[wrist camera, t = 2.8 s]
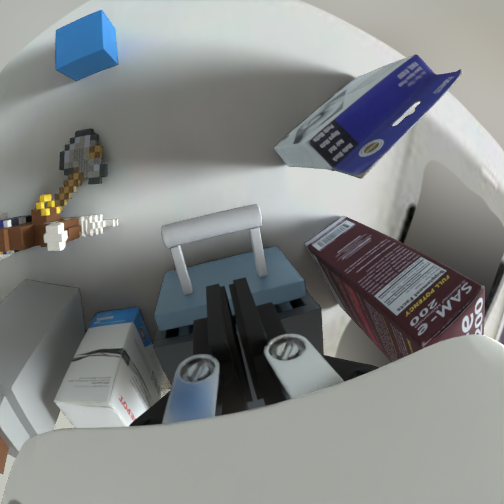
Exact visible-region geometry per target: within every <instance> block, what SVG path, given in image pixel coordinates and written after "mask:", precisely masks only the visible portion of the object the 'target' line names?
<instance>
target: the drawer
mask: <svg viewBox="0 0 504 504" xmlns="http://www.w3.org/2000/svg"><path fill="white" fill-rule="evenodd" d="M259 226H262V216H261V212H260V209H259V206H258V204H253V205H248V206H244V207H239V208H234V209H230V210H226V211H221V212H217V213H212V214H208V215H204V216H200V217H196V218H191V219H187V220H183V221H179V222H175V223H171V224H167V225H163V226H162V227H161V234H162V239H163V242H164V245H165V246H166V248H170V247H171V248H170V250H171V254H172V257H173V261H174V264H175V267H176V270H173V271H169V272H166V273H165V276H164V280H163V283H162V287H161V291H160V294H159V298H158V302H157V306H156V310H155V314H154V317H155V320H156V322H157V325H158V327H159V329H160V331H163V330H168V329H173V328H178V327H179V334H178V336H182V335H187V334H191V333H193V323H194V320H197V319H201V318H206V317H207V302H206V286H210V285H214V284H219V286H220V287H221V286H225V289H226V293H227V297H228V301H229V304H230V308H231V312H232V316H233V320H234V323H235V324H236V323H237V322H236V317H235V312H234V308H233V303H232V298H231V294H230V289H229V284H234V283H233V280H236V279H240V278H244V277H246V279H247V282H248V285H249V288H250V291H251V293H252V296H253V299H254V302H255V304H256V306H257V305H261V304H265V303H269V302H272V303H273V305H274V307H275V309H276V311H277V313H280V312H283V311H287V310H291V309H293V308H292V306H291V304H290V303H289V301H291V300H295V299H299V298H302V297H305V296H306V289H305V281H304V279H303V278H302V277H301V275H300V274H299V273H298V272H297V271H296V269H295V268H294V267H293V266H292V264H291V263H290V262H289V261H288V260H287V258H286V257H285V256H284V255H283V253H282V252H281V251H280V250H279V249H278V247H277V246H275V247H271V248H267V249H263V246H262V240H261V235H260V229H259ZM246 229H249V233H250V238H251V244H252V249H253V252H250V253H245V254H241V255H237V256H233V257H229V258H224V259H220V260H216V261H212V262H207V263H203V264H199V265H195V266H190V267H186V264H185V261H184V257H183V254H182V250H181V247H180V245H182V244H186V243H190V242H194V241H199V240H203V239H207V238H211V237H216V236H220V235H224V234H228V233H233V232H237V231H242V230H246Z"/></svg>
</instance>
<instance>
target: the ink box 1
mask: <svg viewBox="0 0 504 504" xmlns="http://www.w3.org/2000/svg"><path fill="white" fill-rule="evenodd" d="M162 380H163V370H162V367H161V365H160V362H159V360H158V358H157V356H156V354H155V352H154V350H153V345H152V343H151V340H150V337H149V335H148V332H147V329H146V326H145V324H144V321H143V318H142V315H141V312H140V309H139V308H137V307H134V308H127V309H120V310H113V311H106V312H100V313H97V314H96V315H95V317H94V319H93V320H92V322H91V324H90V326H89V328H88V330H87V332H86V334H85V336H84V338H83V340H82V341H81V343H80V345H79V347H78V349H77V351H76V353H75V355H74V357H73V359H72V362H71V364H70V366H69V368H68V370H67V372H66V374H65V377H64V379H63V381H62V383H61V386H60V388H59V390H58V392H57V395H56V397H55V399H54V402H55V403H56V405H57V406H58V407H59V409H60V410H61V411H62V412H63V414H64V415H65V416H66V418H67V419H68V420H69V421H70V423H71V424H72V425H73V426H74V428H95V427H122V426H123V427H127V426H129V425H130V424H131V423H132V422H133V421H134V420H135V419H137V418H138V417H139V416H140V415H142V414H143V413H144V412H145V411H146V410H148V409H149V408H150V407H151V406H153V405H154V404H155V403H156V402H157V401H159V400H160V397H161V388H162Z"/></svg>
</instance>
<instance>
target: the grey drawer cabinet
mask: <svg viewBox="0 0 504 504" xmlns="http://www.w3.org/2000/svg"><path fill="white" fill-rule="evenodd" d="M305 289H306V288H305ZM289 303H290V304H291V306H292V308H293V309H291V310H287V311H283V312H280V313H278V316H279V318H280V320H281V322H282V324H283V326H284V328H285V330H286V332H287V334H297V335H300V336H303V337H305V338H306V339H307V340H308V341H309V342H310V343H311V344H312V345H313V347H314V348H315V349H316V350H317V351H318V352H319V353H320V354H321V355H324V353H323V332H322V315H321V307H320V306H319V305H318V303H317V302H316V301H315V300H314V298H313V297H312V296H311V294H310V293H309V292H308V290H307V289H306V296H305V297H302V298H299V299H295V300H291V301H289ZM235 327H236V331H237V334H238V338H239V342H240V346H241V351H242V355H243V360H244V364H245V369H246V373H247V378H248V382H249V386H250V391H251V395H252V399H253V401H251V402H248V407H249V410H251V409H255V408H259V407H263V406H265V403H264V399H260V400H257V396H256V393H255V390H254V386H253V383H252V379H251V376H250V372H249V369H248V365H247V361H246V358H245V354H244V350H243V347H242V343H241V339H240V335H239V331H238V326H237V323H236V324H235ZM178 334H179V327H178V328H173V329H168V330H163V331H160V329H159V327H158V325H157V329H156V334H155V339H154V345H153V350H154V352H155V354H156V356H157V358H158V360H159V362H160V364H161V366H162V368H163V370H164V372H165V374H166V375H167V377H168V379H169V381H170V383H171V385H172V382H173V379H174V375H175V372H176V369H177V367H178V365H179V364H180V363H181V362H182V361H184V360H185V359H187V358H189V357H191V356H193V333H191V334H187V335H182V336H178Z"/></svg>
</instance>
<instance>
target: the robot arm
mask: <svg viewBox="0 0 504 504" xmlns="http://www.w3.org/2000/svg"><path fill="white" fill-rule="evenodd" d="M233 283H234V284H229V289H230V294H231V298H232V303H233V308H234V312H235V317H236V322H237V326H238V331H239V335H240V339H241V343H242V347H243V350H244V354H245V358H246V361H247V365H248V369H249V372H250V376H251V379H252V383H253V386H254V390H255V393H256V396H257V400H260V399H264V403H265V406H263V407H259V408H255V409H251V410H249V407H248V402H251V401H253V399H252V395H251V391H250V386H249V382H248V378H247V373H246V369H245V364H244V360H243V355H242V351H241V346H240V342H239V338H238V334H237V331H236V327H235V323H234V320H233V316H232V312H231V308H230V304H229V301H228V297H227V293H226V289H225V286H221V287H220V286H219V284H214V285H210V286H206V302H207V317H206V318H201V319H197V320H194V323H193V356H191V357H189V358H187V359H185V360H184V361H182V362H181V363H180V364H179V365H178V367H177V369H176V372H175V375H174V379H173V382H172V386H171V390H170V391H169V392H168V393H167V394H166V395H165V396H163V397H162V398H161V399H160V400H159V401H157V402H156V403H155V404H154V405H153V406H151V407H150V408H149V409H148V410H146V411H145V412H144V413H143V414H142V415H140V416H139V417H138V418H137V419H135V420H134V421H133V422H132V423H131V424H130V425H129V426H127V427H123V426H122V427H95V428H67V429H58V430H51V431H47V432H44V433H41V434H38V435H36V436H33V437H32V438H30V439H28V440H27V441H26V442H25V443H24V444H23V446H22V447H21V449H20V451H19V453H18V455H17V457H16V459H15V461H14V464H13V466H12V469H11V471H10V474H9V477H8V481H7V484H6V487H5V491H4V494H3V499H2V503H1V504H504V345H502V344H501V343H499V342H498V341H496V340H494V339H492V338H490V337H487V336H484V335H465V336H459V337H454V338H450V339H447V340H444V341H440V342H438V343H435V344H433V345H430V346H428V347H425V348H423V349H421V350H419V351H417V352H414V353H412V354H410V355H408V356H405V357H403V358H401V359H399V360H396V361H394V362H392V363H390V364H387V365H385V366H383V367H381V368H378V367H376V366H373V365H369V364H363V363H358V362H353V361H348V360H344V359H339V358H334V357H330V356H325V355H321V354H320V353H319V352H318V351H317V350H316V349H315V348H314V347H313V345H312V344H311V343H310V342H309V341H308V340H307V339H306V338H305V337H303V336H300V335H297V334H287V332H286V330H285V328H284V326H283V324H282V322H281V320H280V318H279V316H278V313H277V311H276V309H275V307H274V305H273V303H272V302H269V303H265V304H261V305H257V306H256V304H255V302H254V299H253V296H252V293H251V291H250V288H249V285H248V282H247V279H246V277H244V278H240V279H236V280H233Z"/></svg>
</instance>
